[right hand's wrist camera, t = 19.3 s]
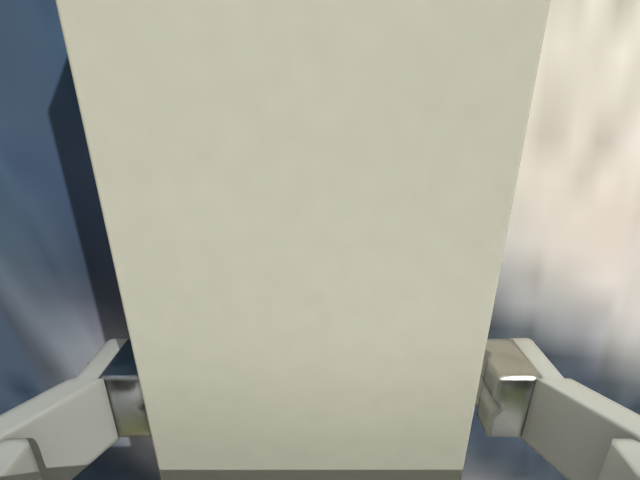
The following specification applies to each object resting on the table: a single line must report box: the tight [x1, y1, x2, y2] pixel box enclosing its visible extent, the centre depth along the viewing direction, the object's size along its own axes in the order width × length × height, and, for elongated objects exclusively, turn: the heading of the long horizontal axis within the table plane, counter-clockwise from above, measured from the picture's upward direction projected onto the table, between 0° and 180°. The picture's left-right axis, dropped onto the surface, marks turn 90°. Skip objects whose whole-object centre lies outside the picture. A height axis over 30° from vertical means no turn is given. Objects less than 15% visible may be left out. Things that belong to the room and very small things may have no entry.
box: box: [56, 0, 550, 480], centre depth 10 cm, size 21×6×10 cm, turn 0°
